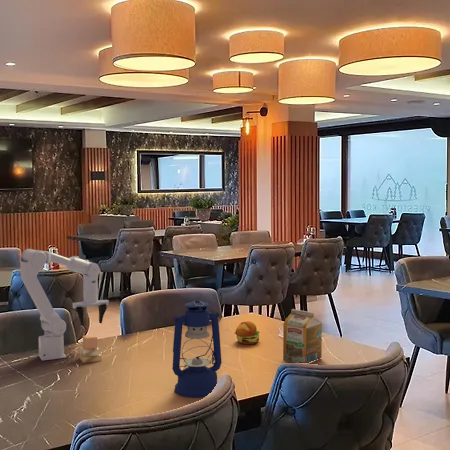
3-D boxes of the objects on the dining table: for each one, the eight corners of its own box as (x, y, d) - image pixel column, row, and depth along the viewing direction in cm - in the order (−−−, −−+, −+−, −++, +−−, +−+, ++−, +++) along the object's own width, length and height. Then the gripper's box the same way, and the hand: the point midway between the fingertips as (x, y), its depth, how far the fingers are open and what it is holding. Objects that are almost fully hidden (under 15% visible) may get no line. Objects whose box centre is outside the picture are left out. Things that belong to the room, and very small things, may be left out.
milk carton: (283, 359, 238) (283, 311, 236) (299, 353, 245) (299, 306, 244) (305, 365, 231) (305, 315, 229) (321, 358, 238) (321, 310, 237)
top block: (83, 357, 234) (83, 351, 234) (80, 353, 240) (80, 347, 240) (99, 355, 237) (99, 349, 237) (95, 351, 242) (95, 345, 242)
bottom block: (83, 364, 234) (83, 357, 234) (79, 359, 240) (79, 353, 240) (101, 361, 237) (101, 355, 237) (97, 357, 243) (97, 351, 243)
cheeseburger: (265, 340, 266) (262, 319, 263) (253, 351, 257) (250, 330, 254) (244, 336, 271) (242, 316, 268) (232, 348, 262) (229, 327, 260)
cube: (85, 349, 236) (85, 338, 235) (82, 347, 240) (82, 335, 239) (97, 348, 238) (97, 337, 237) (94, 345, 242) (94, 334, 241)
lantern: (180, 401, 194) (179, 307, 191) (165, 386, 208) (164, 298, 205) (230, 393, 200) (230, 302, 198) (212, 379, 214) (212, 294, 212)
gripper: (74, 294, 245) (75, 327, 246) (110, 291, 252) (111, 324, 253) (71, 291, 252) (72, 324, 253) (106, 288, 258) (106, 320, 259)
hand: (91, 323), depth 253 cm, fingers open, 7 cm apart
